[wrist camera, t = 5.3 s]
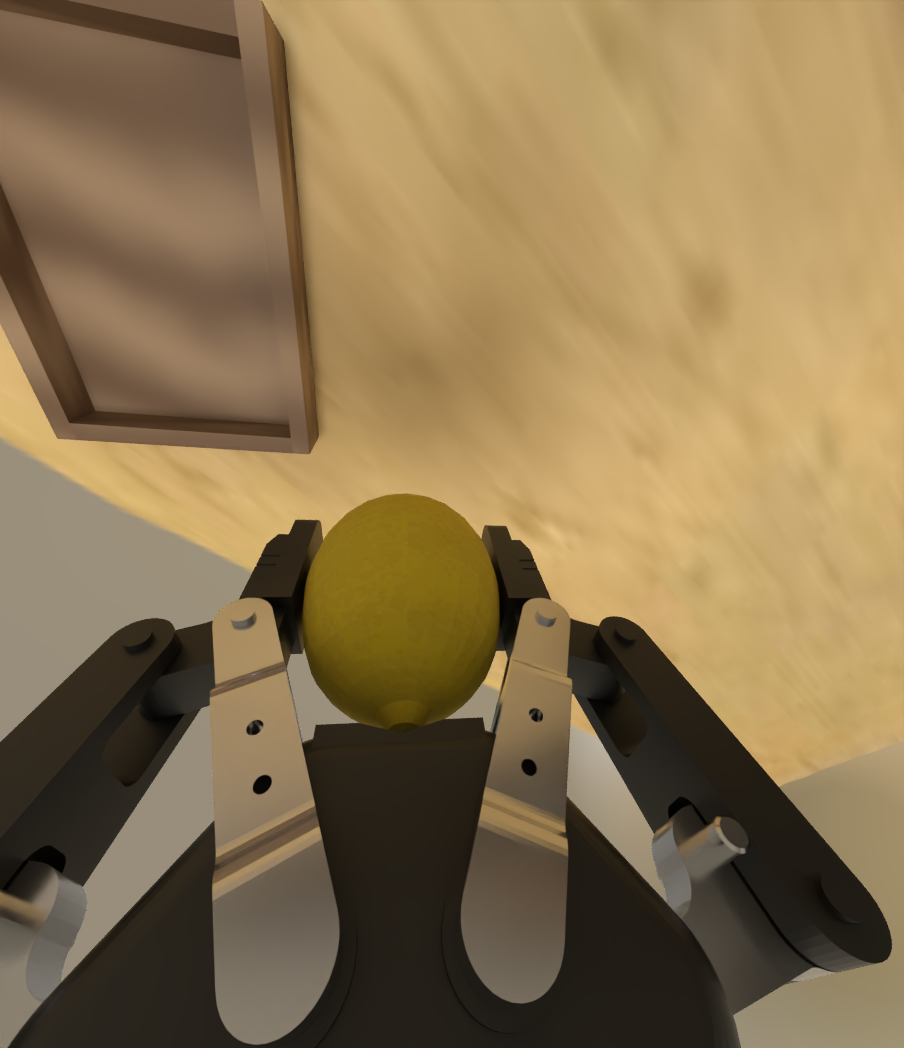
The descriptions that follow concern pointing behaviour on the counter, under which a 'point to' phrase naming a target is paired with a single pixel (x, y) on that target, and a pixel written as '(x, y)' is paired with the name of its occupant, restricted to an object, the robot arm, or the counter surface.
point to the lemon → (400, 613)
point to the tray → (154, 223)
